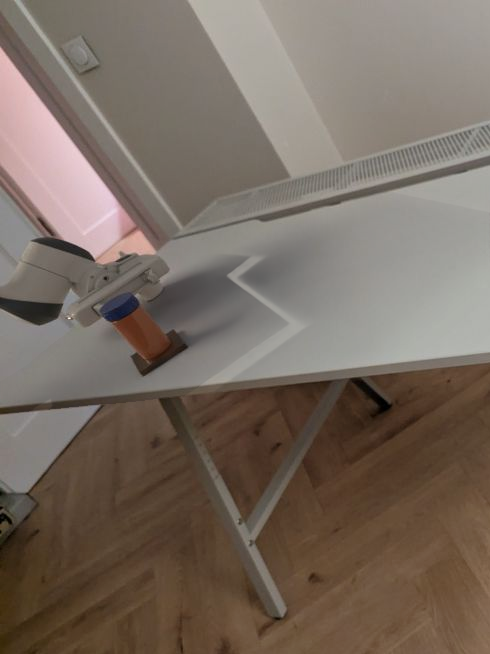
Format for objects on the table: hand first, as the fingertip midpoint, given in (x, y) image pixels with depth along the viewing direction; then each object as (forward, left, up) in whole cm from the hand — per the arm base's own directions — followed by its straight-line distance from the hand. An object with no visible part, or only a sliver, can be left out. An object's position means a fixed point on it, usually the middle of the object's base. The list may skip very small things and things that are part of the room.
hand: (134, 293), depth 106 cm
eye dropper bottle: (+3, +21, -9) cm, 23 cm away
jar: (-3, -11, -8) cm, 13 cm away
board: (-3, -11, -9) cm, 14 cm away
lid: (-3, -11, +3) cm, 11 cm away
